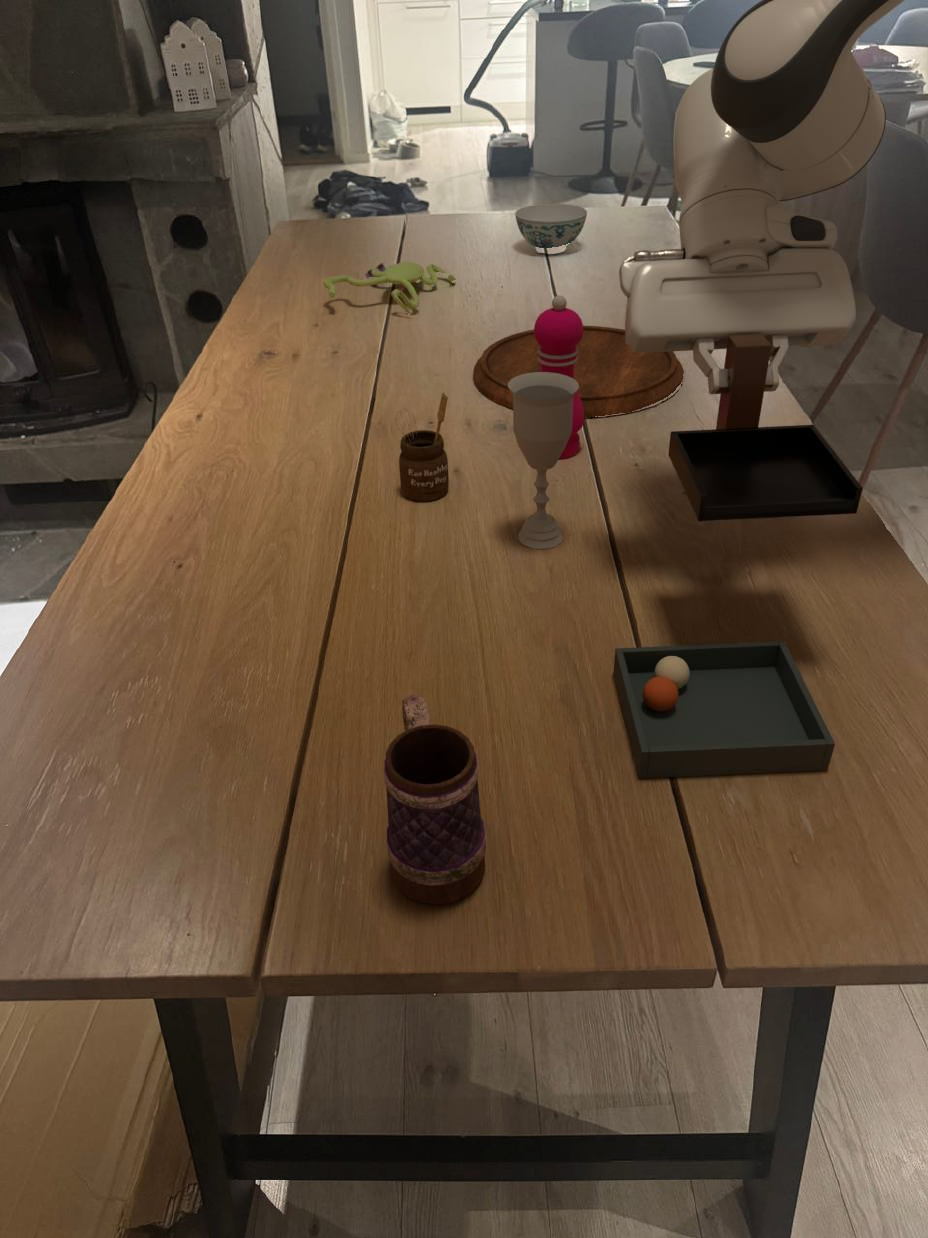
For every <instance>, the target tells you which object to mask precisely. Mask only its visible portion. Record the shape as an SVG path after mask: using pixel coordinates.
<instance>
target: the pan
mask: <svg viewBox="0 0 928 1238" xmlns="http://www.w3.org/2000/svg"><path fill="white" fill-rule="evenodd" d="M725 350H726V351H725V356H724V363H723V364H724V365H723V366H724V367H723V369H728V371H729V377H728V379H729V382H730V386H729V390H728V391H727V392H726V394H719V395H720V396H719V403H718V411H717V418H716V419H717V420H716V426H715V429H693V430H675V431H673V430H671V431H670V433H669V444H668V453H667V454H668V457H669V459H670V462H671V464H672V466H673V468H674V470H675V473H676V475H677V478H678V480H679V482H680V484H681V486H682V488H683V491H684V493H685V495H686V497H687V499H688V501H689V504H690V506H691V508H692V511H693V513H694V515H695V518H696V519H697V521H698V522H710V521H711V522H712V521H731V520H754V519H774V518H795V517H796V518H797V517H816V516H831V515H832V516H837V515H839V516H840V515H856V514H857V513H858V510H859V505H860V501H861V497H862V494H863V489H864V488H863V486H862V485H861V483H860V482H859V481H858V479H856V477H855V476H854V474H852V471H850V469H849V468H848V467H847V466H846V464H845V463H844V461H842V459H841V458H840V456H839V455H838V454H837V452H836V451H835V450H834V449H833V448H832V446H831V445H830V444H829V442H828V441H827V440H826V439H825V437H824V436H823V435H822V434H821V432H820V430H819V429H818V428H817V427H816V425H815V424H799V425H797V424H795V425H777V426H759V425H760V418H761V412H762V407H763V401H764V394H765V392H764V389H765V383H766V376H767V370H768V365H769V363H770V358H771V357H770V352H771V344H770V343H769V342H768V340H767V339H766V338H765V337H764V336H763V334H761V333H759V334H739V335H729V336H728V342H727V349H725Z"/></svg>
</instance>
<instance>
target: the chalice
mask: <svg viewBox="0 0 928 1238" xmlns="http://www.w3.org/2000/svg"><path fill="white" fill-rule="evenodd" d="M508 388H509V390H510V392H511V394H512V395H513V409H512V419H513V420H512V428H513V429H512V430H513V431H512V432H513V435H514V436H515V440H516V442H517V445H518V448H519V449H520V451H521V453H522V455H523V457H524V459H525V460H526V462H527V464H528V466H529V467H530V468H532V469H534V470H536V473H537V474H536V479H535V481H534V483H533V485H534V487H535V488H536V494H535V496H534V497H533V498H532V500H533V502H534V503H535V505H536V510H535V513H533V514H531V515H529V516H528V517H527V518H526V519H525V520H524V522H523V523H524V524H523V525H522V527H521V530H520V532H519V533H518V534H517V535H518V536H517V540H518V541H519V542H520V544H522V545H523V546H525V547H528V548H531V549H537V550H546V549H552V548H554V547H557V546H559V545H560V544H561V543H562V542H563V540H564V535H563V533H562V532H561V528H560V526H559V525H558V521H557V520H556V518H554V517H553V515H551V514H549V513H547V510H546V508H547V507H546V506H547V503H548V502H549V501H550V497H549V496H548V495H547V488H548V487H549V485H550V483H549V481H548V478H547V471H548V470H551V469H553V468H555V466H556V465H557V462H558V461H559V460H560V459H559V457H560V456H561V454H562V452H563V451H564V449H565V447H566V445H567V442H568V440H569V437H570V435H571V433H572V419H573V397H574V395H575V393H576V391H577V390H578V388H579V385H578V382H577V381H575V380H574V379H573V378H571V377H568V376H566V375H562V374H558V373H550V372H534V373H526V374H522V375H519V376H516V377H514V378H512V379H511V380H510V381H509V382H508Z"/></svg>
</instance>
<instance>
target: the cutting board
mask: <svg viewBox="0 0 928 1238" xmlns="http://www.w3.org/2000/svg"><path fill="white" fill-rule="evenodd" d="M539 347H540V345H539V344H538V343H537V341H536V340H535V337H534V329H529V330H525V331H520V332H517V333H513V334H510V335H508V336H505V337H503V338H500V339H499V340H497V341H495V342H493V343H492V344H490V345H489V346H488V347H487V348H486V349H484V350H483V352H482V354H481V355H480V357H479V358H478V359H477V361H476V363H475V364H474V366H473V371H472V372H473V373H472V380H473V384H474V386H475V385H476V386H475V388H476V389H477V391H479V392H480V394H482V395H483V396H484V397H485V398H487V399H488V400H490V401H492V402H494V403H496V404H498V405H501V406H503V407H505V408H507V409H510V410H513V395H512V394H511V392H510V390H509V388H508V382H509V381H510V380H511V379H512V378H514V377H516V376H519V375H522V374H526V373H534V372H541V363H540V362H539V361H538V355H539V354H538V348H539ZM576 347H577V348H578V354H577V356H578V360H577V362H575V364H574V380H575V381H577V382H578V385H579V388H578V390H577V392H578V394H579V397H580V399H581V402H582V405H583V409H584V419H591V418H590V417H595V416H597V417H598V416H605V415H612V414H619V413H628V412H632V411H635V410H638V409H641V408H643V407H646V406H649V405H651V404H654V403H656V402H658V401H660V400H663V399H664V398H666V397H668V396H669V395H670V394H671V393H673V392H674V391H675V390H676V388H677V387H678V386H679V385H680V384H681V382H682V380H683V381H684V376H683V374H684V375H685V371H684V367H683V364H682V363H681V362H680V360H679V359H678V357H677V355H676V354H675V351H670V352H649V353H635V352H633V351H632V350H631V349H630V347H629V346H628V345H627V344H626V341H625V329H623V328H618V327H617V328H616V327H609V326H598V325H583V337H582V339H581V341H580V342H579V343H578V344H577V345H576ZM598 418H599V417H598Z"/></svg>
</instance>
